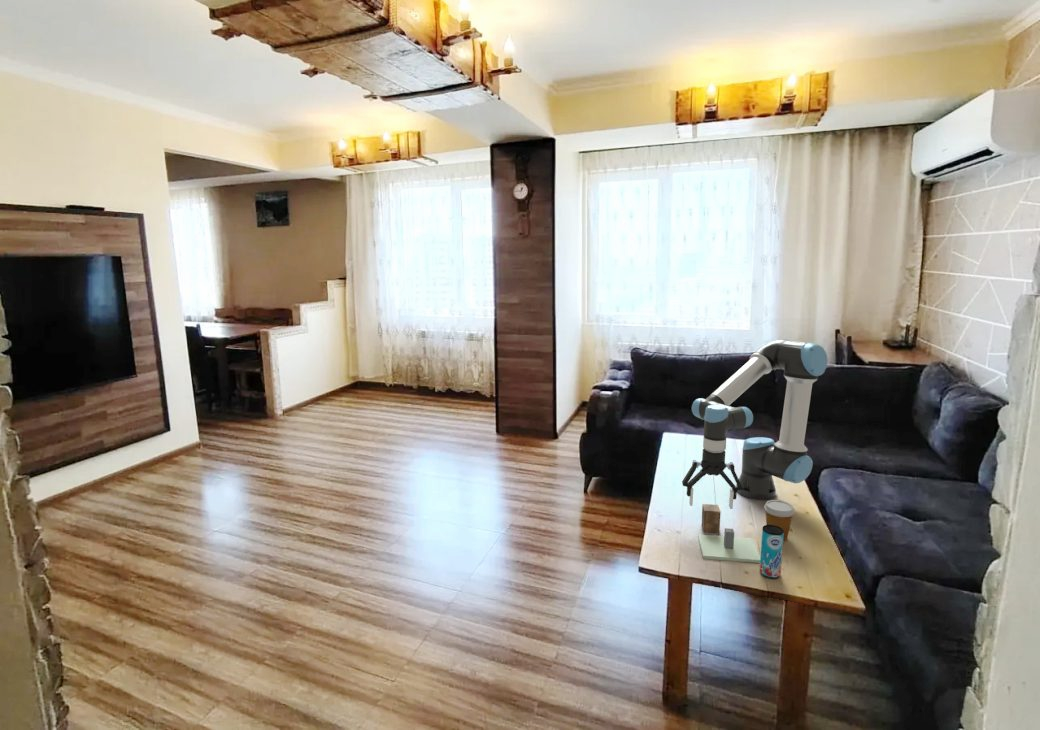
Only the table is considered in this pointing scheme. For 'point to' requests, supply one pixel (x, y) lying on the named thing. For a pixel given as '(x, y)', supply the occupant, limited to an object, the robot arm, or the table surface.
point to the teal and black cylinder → (771, 551)
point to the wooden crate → (710, 518)
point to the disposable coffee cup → (779, 515)
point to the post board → (728, 554)
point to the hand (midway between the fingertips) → (710, 505)
